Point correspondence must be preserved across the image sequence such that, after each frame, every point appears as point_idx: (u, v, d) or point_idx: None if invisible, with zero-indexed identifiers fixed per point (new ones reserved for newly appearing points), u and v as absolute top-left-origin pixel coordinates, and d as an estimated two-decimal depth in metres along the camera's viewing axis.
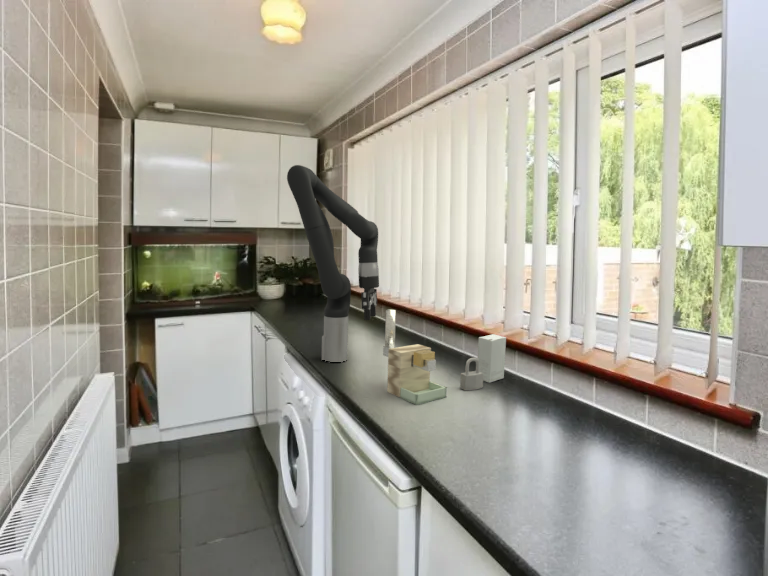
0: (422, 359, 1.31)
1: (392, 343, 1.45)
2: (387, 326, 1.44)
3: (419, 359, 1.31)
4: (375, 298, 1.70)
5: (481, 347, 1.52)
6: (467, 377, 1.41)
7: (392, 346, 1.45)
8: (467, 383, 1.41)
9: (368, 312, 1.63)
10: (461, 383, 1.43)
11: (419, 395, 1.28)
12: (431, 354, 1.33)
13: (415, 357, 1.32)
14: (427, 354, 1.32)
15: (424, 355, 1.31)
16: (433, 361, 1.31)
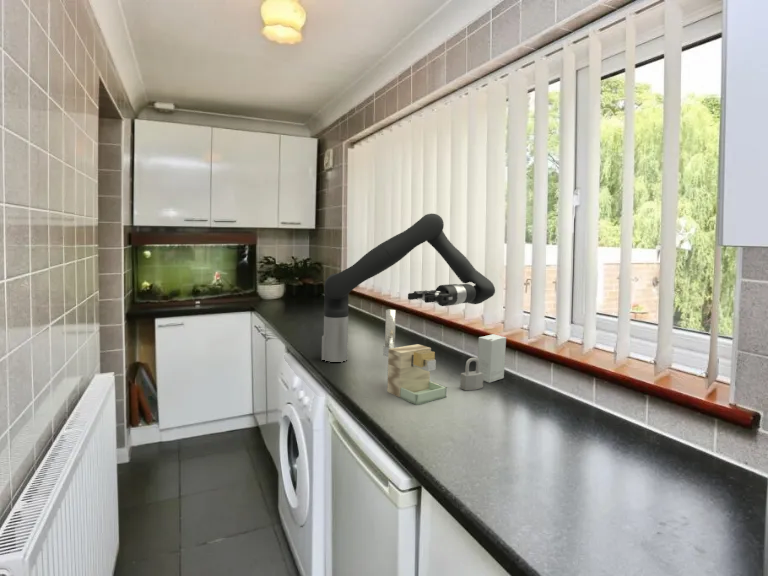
0: (422, 359, 1.31)
1: (392, 343, 1.45)
2: (387, 326, 1.44)
3: (419, 359, 1.31)
4: None
5: (481, 347, 1.52)
6: (467, 377, 1.41)
7: (392, 346, 1.45)
8: (467, 383, 1.41)
9: (433, 301, 1.49)
10: (461, 383, 1.43)
11: (419, 395, 1.28)
12: (431, 354, 1.33)
13: (415, 357, 1.32)
14: (427, 354, 1.32)
15: (424, 355, 1.31)
16: (433, 361, 1.31)
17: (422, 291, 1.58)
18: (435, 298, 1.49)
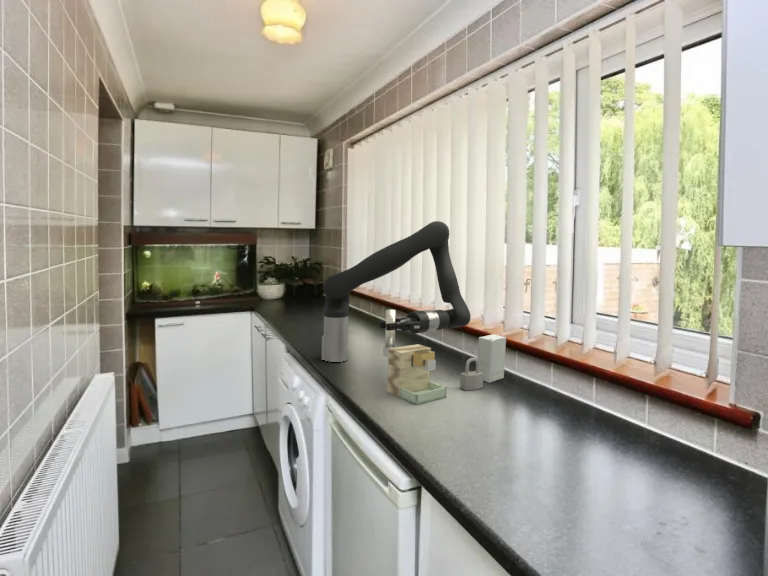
0: (422, 359, 1.31)
1: (392, 343, 1.45)
2: None
3: (419, 359, 1.31)
4: None
5: (481, 347, 1.52)
6: (467, 377, 1.41)
7: (392, 346, 1.45)
8: (467, 383, 1.41)
9: (395, 328, 1.44)
10: (461, 383, 1.43)
11: (419, 395, 1.28)
12: (431, 354, 1.33)
13: (415, 357, 1.32)
14: (427, 354, 1.32)
15: (424, 355, 1.31)
16: (433, 361, 1.31)
17: None
18: (397, 326, 1.44)
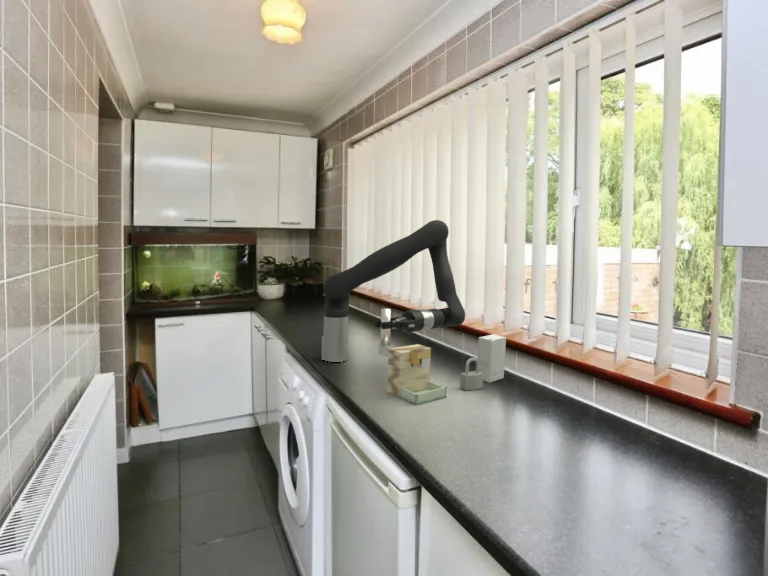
0: (418, 358, 1.32)
1: (387, 341, 1.47)
2: None
3: (416, 358, 1.32)
4: None
5: (481, 347, 1.52)
6: (467, 377, 1.41)
7: (387, 344, 1.47)
8: (467, 383, 1.41)
9: (390, 327, 1.46)
10: (461, 383, 1.43)
11: (419, 395, 1.28)
12: (427, 353, 1.34)
13: (411, 356, 1.34)
14: (423, 353, 1.33)
15: (420, 354, 1.32)
16: (427, 359, 1.33)
17: None
18: (392, 324, 1.46)
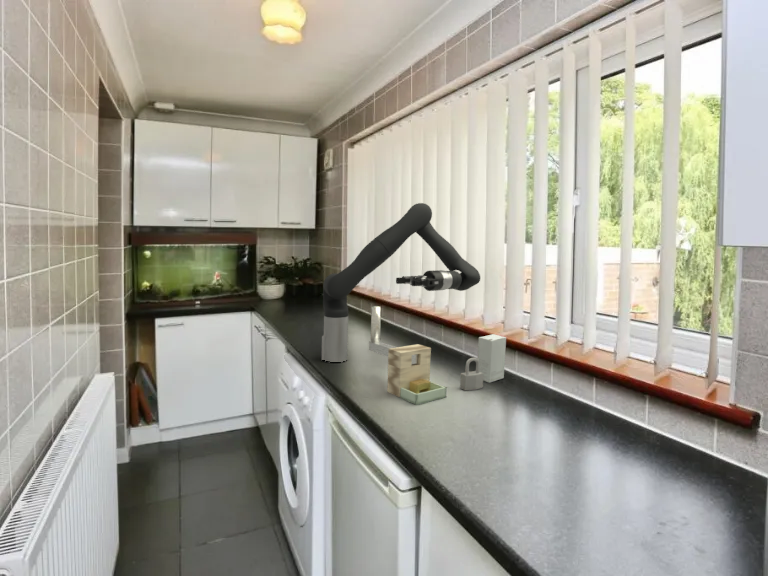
0: (418, 389, 1.32)
1: (377, 338, 1.51)
2: (372, 322, 1.51)
3: (416, 389, 1.33)
4: None
5: (481, 347, 1.52)
6: (467, 377, 1.41)
7: (377, 341, 1.51)
8: (467, 383, 1.41)
9: (419, 284, 1.56)
10: (461, 383, 1.43)
11: (419, 395, 1.28)
12: (427, 384, 1.34)
13: (411, 387, 1.34)
14: (423, 384, 1.33)
15: (420, 385, 1.33)
16: (415, 355, 1.37)
17: (410, 276, 1.65)
18: (421, 282, 1.57)
